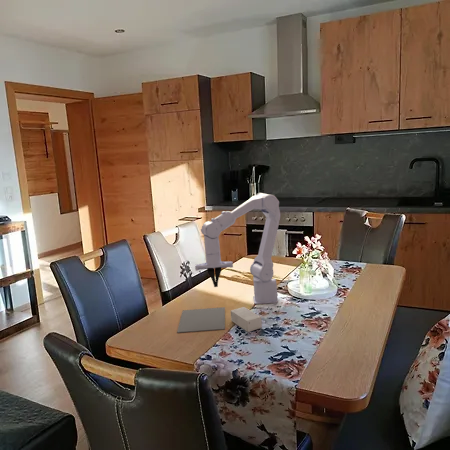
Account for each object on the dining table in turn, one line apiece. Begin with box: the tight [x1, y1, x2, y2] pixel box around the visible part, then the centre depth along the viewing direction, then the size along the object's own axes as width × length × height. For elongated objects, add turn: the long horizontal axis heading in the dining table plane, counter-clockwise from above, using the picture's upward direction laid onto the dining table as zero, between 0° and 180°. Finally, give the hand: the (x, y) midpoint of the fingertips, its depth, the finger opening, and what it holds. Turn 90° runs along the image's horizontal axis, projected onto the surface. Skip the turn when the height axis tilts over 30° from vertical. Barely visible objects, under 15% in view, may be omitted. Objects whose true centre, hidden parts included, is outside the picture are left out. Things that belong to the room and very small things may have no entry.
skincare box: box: [230, 306, 263, 333], centre depth 150 cm, size 6×4×12 cm
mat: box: [176, 306, 226, 334], centre depth 158 cm, size 17×20×1 cm
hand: (215, 286), depth 163 cm, fingers closed
